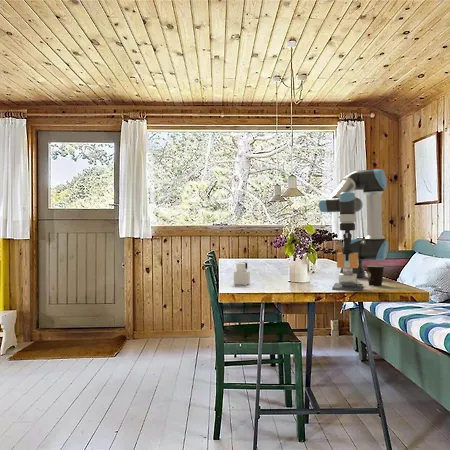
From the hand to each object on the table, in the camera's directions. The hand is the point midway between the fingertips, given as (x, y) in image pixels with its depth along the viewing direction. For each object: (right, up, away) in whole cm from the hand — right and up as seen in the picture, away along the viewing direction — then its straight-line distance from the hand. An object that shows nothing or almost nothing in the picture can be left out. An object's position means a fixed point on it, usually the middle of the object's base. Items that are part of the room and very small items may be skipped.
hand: (347, 266), depth 222 cm
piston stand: (0, -11, 0) cm, 11 cm away
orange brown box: (0, 0, 0) cm, 0 cm away
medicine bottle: (-53, -12, +17) cm, 57 cm away
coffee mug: (+17, -11, +10) cm, 23 cm away
